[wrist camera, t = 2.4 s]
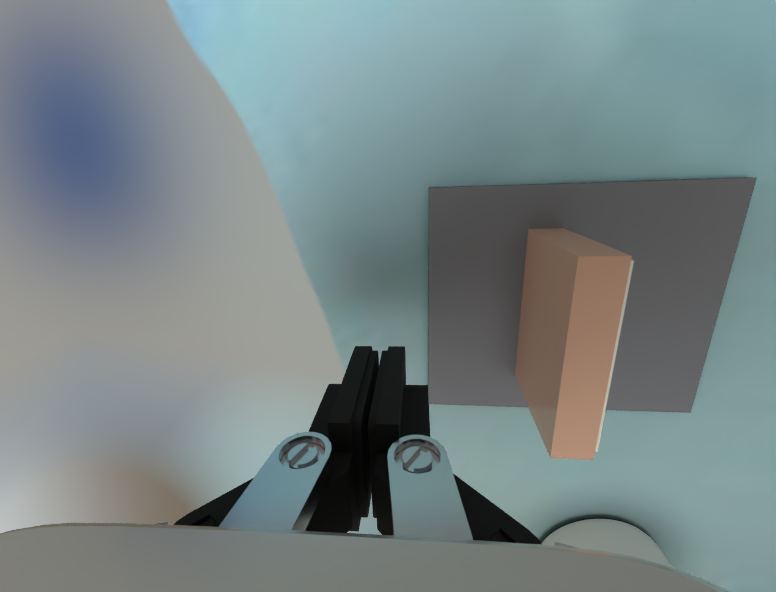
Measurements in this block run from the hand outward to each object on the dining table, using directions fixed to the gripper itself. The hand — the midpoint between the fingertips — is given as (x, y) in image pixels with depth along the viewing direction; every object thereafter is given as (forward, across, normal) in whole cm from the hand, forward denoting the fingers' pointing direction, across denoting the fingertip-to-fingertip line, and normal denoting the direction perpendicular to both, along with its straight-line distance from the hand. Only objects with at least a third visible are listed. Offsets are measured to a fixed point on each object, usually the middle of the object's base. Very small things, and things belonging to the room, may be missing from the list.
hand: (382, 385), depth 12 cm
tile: (+7, -7, 0) cm, 10 cm away
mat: (+8, -9, 0) cm, 12 cm away
